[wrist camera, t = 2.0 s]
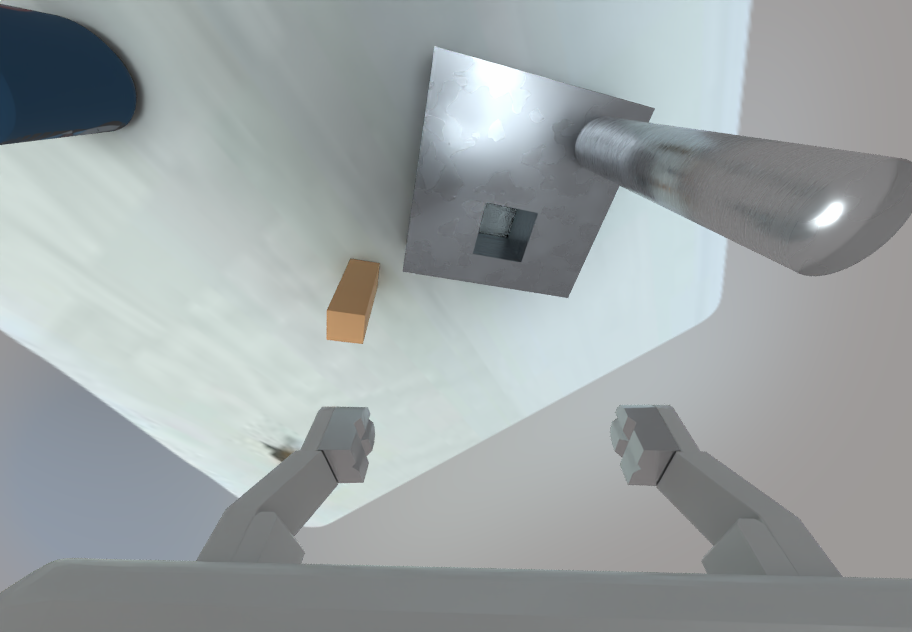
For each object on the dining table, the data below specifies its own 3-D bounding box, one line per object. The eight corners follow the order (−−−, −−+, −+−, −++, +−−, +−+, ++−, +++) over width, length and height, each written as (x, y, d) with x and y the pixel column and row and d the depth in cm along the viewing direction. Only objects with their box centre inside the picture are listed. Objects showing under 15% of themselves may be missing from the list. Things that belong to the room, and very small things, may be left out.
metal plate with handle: (406, 245, 35) (377, 453, 15) (433, 54, 26) (452, -63, 6) (549, 270, 37) (687, 472, 18) (615, 105, 29) (1029, 136, 9)
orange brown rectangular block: (349, 283, 37) (326, 339, 28) (350, 258, 35) (326, 310, 27) (377, 287, 37) (362, 343, 29) (379, 263, 36) (365, 315, 27)
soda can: (56, -10, 23) (-232, -89, 13) (163, 84, 26) (-1, 79, 16) (21, 71, 25) (-248, 58, 15) (124, 149, 28) (-42, 180, 18)
